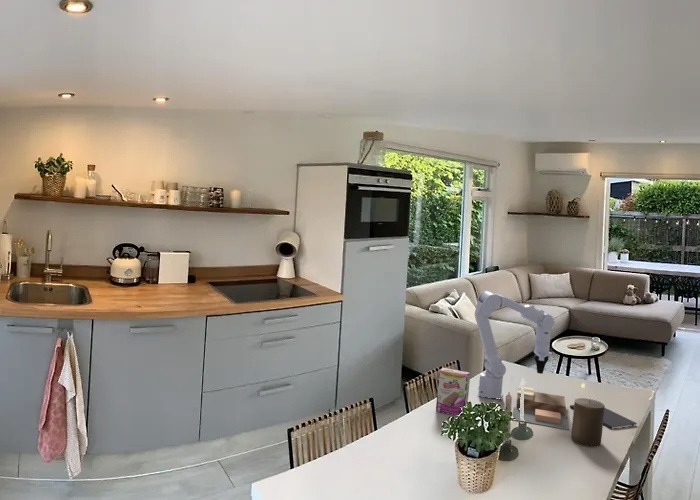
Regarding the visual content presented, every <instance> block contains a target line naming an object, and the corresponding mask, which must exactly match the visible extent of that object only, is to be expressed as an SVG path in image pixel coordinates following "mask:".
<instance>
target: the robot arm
mask: <svg viewBox="0 0 700 500" xmlns="http://www.w3.org/2000/svg"><path fill="white" fill-rule="evenodd" d="M505 307H506V308H509V309H511V310H513V311H516V312H518V313H520V315H521V317H522V318H523V319H526V320H528V322H529V321H530V322H532V323H534V324H536V333H535V344H534V350H533V353H534V356H533V359H534V360H535V364H536V366H535V367H536V373H537V374H544V370H545V367H546V364H547V362H548V361H549V356H552V355H553V353H552V351H550V343H551V334H552V328H553V327H554V325H555V321H554V317H553V316H552V315H550V314H549V313H546V312H545V310H543V309H541V310H540V309H538V308H536V307H535V305H532V304H530V305H529V304H525V305H522V304H520V303H518V302H516V301H515V300H512V299H511V298H508V297H506V296H504V295H503V294H499V293H495V292H492V291H490V290H484V291H482V292H481V293H480V294H479V296H478V297H477V303H476V307H475V311H474V317H475V321H476V326H477V330H478V333H479V335H480V337H479V338H480V340H481V343H482V347H483V350H484V351H483V352H484V355H483V358H484V361H483V366H484V368H485V373H480V375H479V383H478V395H477V396H478V397H479V396H481V397H480V398H485V397H489V398H488V399H491V398H498V399H499V398H500V399H501V400H500V401H502V400H503V396H502V395H504V393H503V391H502V390H503V380H504V376H505V374H506V372H507V368H506V366H505V365H504V363H503V362H502V358H501V357H500V355H499V352H498V348H497V346H496V341H495V338H494V334H493V330H492V326H491V322H490V319H489V318H490V316H491V315H492V314H493V313H494V312H496V311H497V310H498V309H500V308H505Z"/></svg>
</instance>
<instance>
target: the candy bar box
mask: <svg viewBox="0 0 700 500" xmlns="http://www.w3.org/2000/svg"><path fill="white" fill-rule="evenodd" d="M470 379H471V372H467V371H462V370H457V369H453V368H452V369H451V368H447V367H441V368H440V369H439V370H438V379H437V392H436V393H437V394H436V404H435V405H436V407H435V412H437V411H440V412H439V413H441V412H444V413H443V414H446V413H449V414H448V415H450V414H453V415H452V416H454V415H459V414H460V413H461V412H462V410H461V408H460V406H465V407H466V403H467V402H468V403H469V393H470V381H471V380H470Z"/></svg>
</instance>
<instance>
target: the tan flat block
mask: <svg viewBox="0 0 700 500" xmlns="http://www.w3.org/2000/svg"><path fill="white" fill-rule="evenodd" d="M515 408H520V398H517V397H516V405H515ZM566 408H567V407H566V399H565V396H563V395H558V394H553V393H552V394H551V393H545V392H540V391H534V395H533V400H527V399H524V409H527V410H533V411H535V409H540V410H546V411H552V412H558V413H560V415H562V416H566Z"/></svg>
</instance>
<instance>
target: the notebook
mask: <svg viewBox="0 0 700 500" xmlns="http://www.w3.org/2000/svg"><path fill="white" fill-rule="evenodd" d="M569 408H570V409H571V410H573V411H574V404H570V405H569ZM603 426H604V427H606V428H608V429H610V430H615V429H614V428H618V429H623V428H622V427H625V428H629V427H628V426H633V427H636V426H637V422H636V421H633V420H632V419H629V418H627V417H625V416H623V415H621V414H619V413H617V412H615V411H613V410H611V409H609V408H606V407H605V408H604V418H603Z"/></svg>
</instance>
